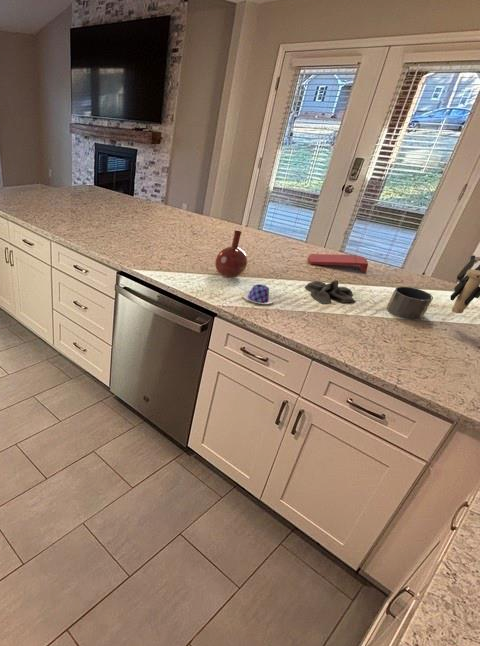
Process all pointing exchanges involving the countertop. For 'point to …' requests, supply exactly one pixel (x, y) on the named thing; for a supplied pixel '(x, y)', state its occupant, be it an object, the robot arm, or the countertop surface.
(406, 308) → the canister
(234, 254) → the round-bottom flask
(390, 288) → the countertop surface
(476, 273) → the handle
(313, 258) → the red bent slab
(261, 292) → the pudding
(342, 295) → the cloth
